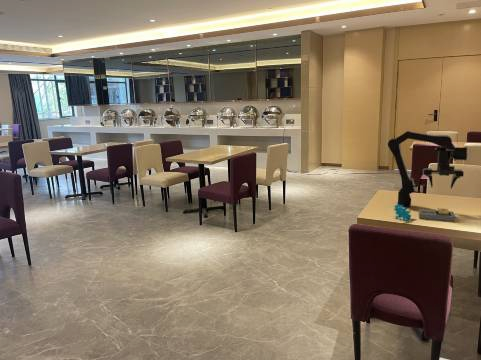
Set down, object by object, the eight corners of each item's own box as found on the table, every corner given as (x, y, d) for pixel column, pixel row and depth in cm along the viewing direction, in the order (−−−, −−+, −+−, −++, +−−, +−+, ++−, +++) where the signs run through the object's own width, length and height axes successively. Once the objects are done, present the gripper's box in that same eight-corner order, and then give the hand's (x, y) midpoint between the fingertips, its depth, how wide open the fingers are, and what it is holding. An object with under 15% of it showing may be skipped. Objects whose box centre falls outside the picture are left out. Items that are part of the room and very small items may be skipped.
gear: (402, 220, 181) (392, 203, 186) (394, 226, 185) (384, 209, 190) (417, 219, 186) (407, 202, 191) (408, 225, 191) (398, 208, 196)
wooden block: (438, 219, 187) (438, 210, 186) (437, 216, 191) (437, 208, 190) (448, 220, 185) (449, 211, 184) (447, 217, 189) (447, 208, 188)
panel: (419, 218, 188) (419, 213, 188) (418, 213, 196) (418, 208, 196) (455, 221, 182) (455, 216, 182) (452, 216, 190) (453, 211, 190)
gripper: (425, 161, 193) (423, 190, 196) (466, 162, 186) (463, 192, 189) (424, 157, 203) (421, 185, 206) (463, 159, 196) (460, 187, 199)
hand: (441, 187), depth 200 cm, fingers open, 9 cm apart
